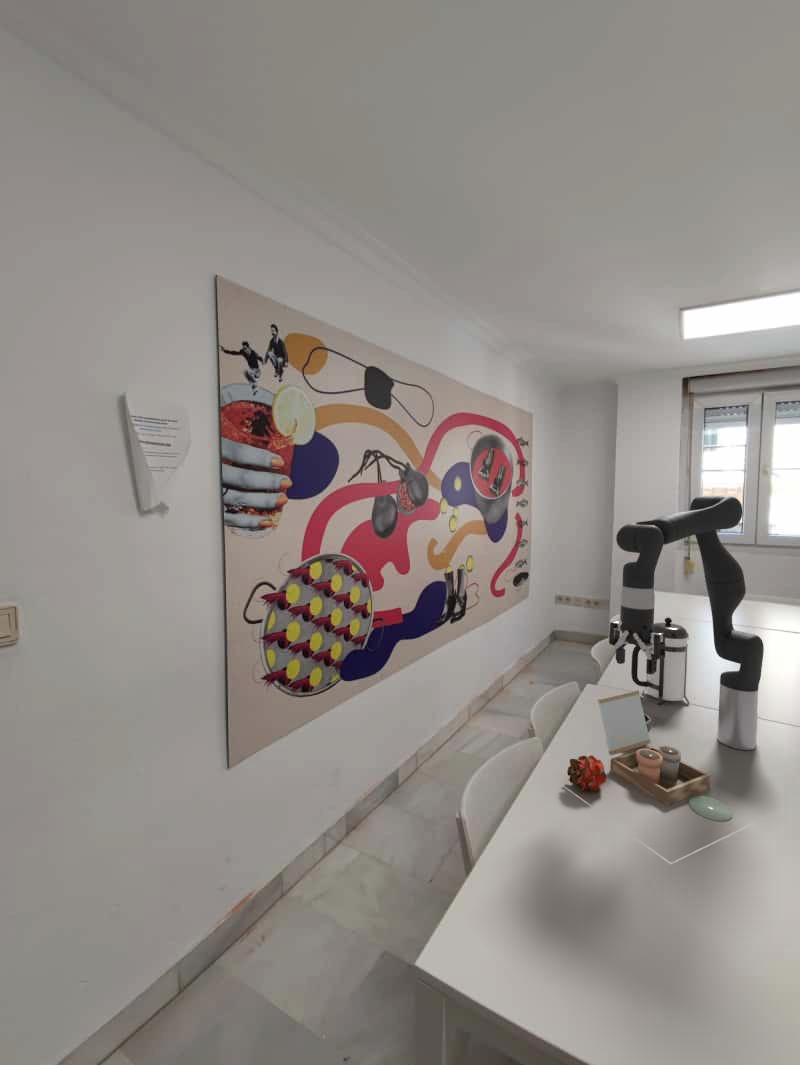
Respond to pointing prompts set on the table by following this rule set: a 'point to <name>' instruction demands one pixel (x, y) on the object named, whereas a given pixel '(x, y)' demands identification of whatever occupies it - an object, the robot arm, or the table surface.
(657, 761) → the terracotta pot
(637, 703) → the lid
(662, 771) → the grey pot
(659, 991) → the table surface
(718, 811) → the saucer
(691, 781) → the box
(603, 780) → the dragon fruit
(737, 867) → the table surface
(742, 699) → the robot arm
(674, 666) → the coffee press
